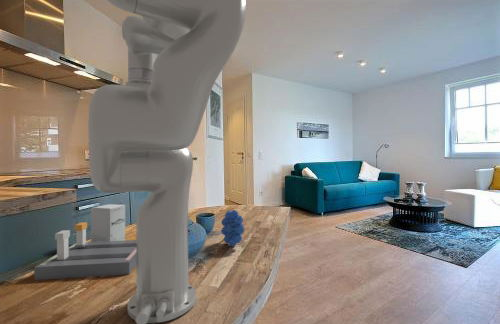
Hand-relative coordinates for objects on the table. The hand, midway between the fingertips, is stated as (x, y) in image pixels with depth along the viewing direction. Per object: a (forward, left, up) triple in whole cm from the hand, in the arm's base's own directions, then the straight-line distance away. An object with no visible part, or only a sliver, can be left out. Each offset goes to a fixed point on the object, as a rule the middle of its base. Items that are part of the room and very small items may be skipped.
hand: (143, 141), depth 67 cm
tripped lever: (+4, +18, -30) cm, 35 cm away
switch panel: (0, +12, -33) cm, 35 cm away
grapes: (+8, -26, -34) cm, 43 cm away
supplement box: (+16, +16, -34) cm, 41 cm away
